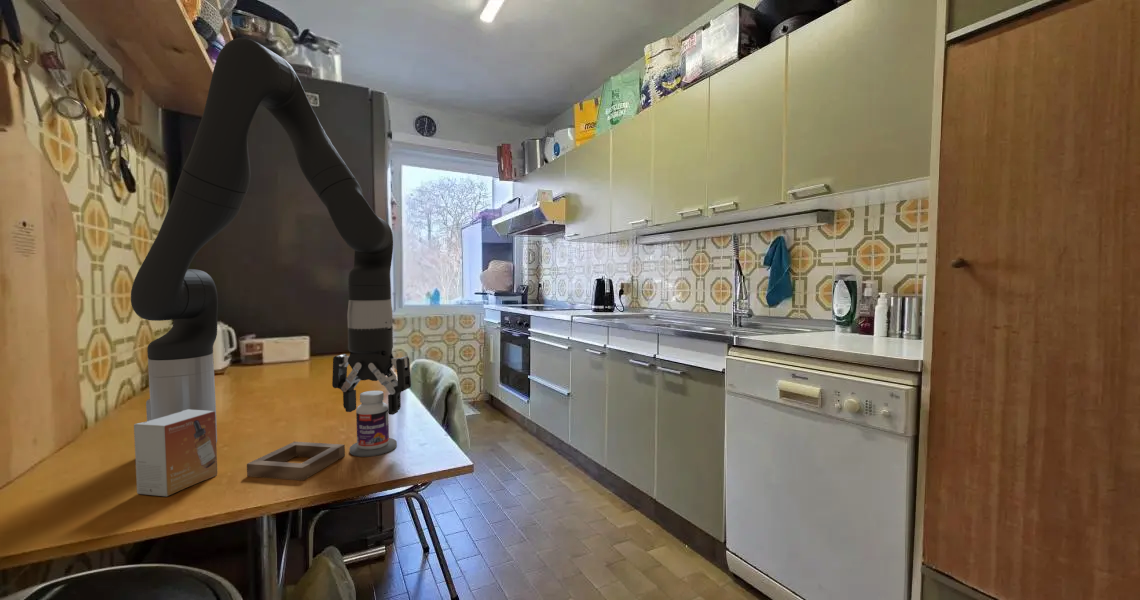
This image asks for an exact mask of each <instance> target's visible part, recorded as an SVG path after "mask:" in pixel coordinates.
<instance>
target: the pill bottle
mask: <svg viewBox="0 0 1140 600" xmlns="http://www.w3.org/2000/svg"><path fill="white" fill-rule="evenodd" d="M384 397H385V395H384V391H382V390H367V391H364V392H361V393H360V394H359V402H360V403H361V404H359V405H358V406H356V409H355V412H356V413H355V414H356V417H355V418H356V443H357V446H358V448H360V449H363V450H372V449H378V448H381V447H384V446H386V445H387V444H388V442H389V438H390V435H389V434H390V433H389V432H390V431H389V428H390V427H389V413H388V403H386V402H384V399H385V398H384Z"/></svg>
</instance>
